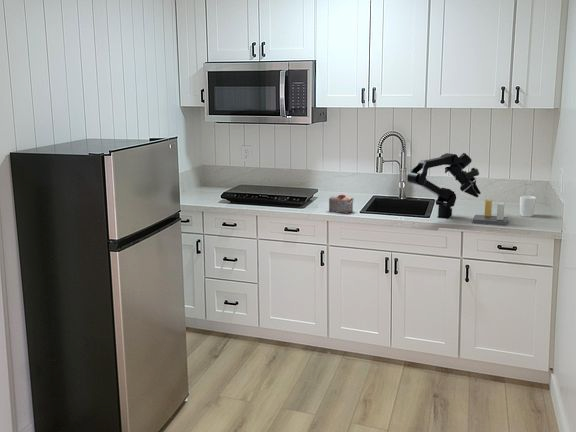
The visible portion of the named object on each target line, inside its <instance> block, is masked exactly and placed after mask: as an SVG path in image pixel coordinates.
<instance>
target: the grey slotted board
mask: <svg viewBox="0 0 576 432" xmlns="http://www.w3.org/2000/svg"><path fill="white" fill-rule="evenodd" d="M508 219H509V218H508V216H504V219H503V220H497V215H491V217H488V216H485V214H475V215H474V216H473V217H472V221H471V224H480V225H489V226H490V225H494V226H504V227H505V226H506V225H507V223H508Z"/></svg>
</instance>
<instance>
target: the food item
mask: <svg viewBox="0 0 576 432" xmlns="http://www.w3.org/2000/svg"><path fill="white" fill-rule="evenodd" d="M328 203H329V205H328V211H329V212H330V211H338V212H349V213H351V212H350V211H352V212H353V211H354V206H353V205H354V198H353V197H347V196H346V194H339V195H338V196H337V195H336V196H335V195H332V196H330V197H329V199H328ZM338 212H337V213H338Z"/></svg>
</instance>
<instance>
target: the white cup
mask: <svg viewBox="0 0 576 432" xmlns="http://www.w3.org/2000/svg"><path fill="white" fill-rule="evenodd" d="M536 200H537V197H536V196H532V195H521V196H520V197H519V216H521V217H527V218H528V217H529V218H531V217H534V214H535V208H536Z"/></svg>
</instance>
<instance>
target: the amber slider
mask: <svg viewBox="0 0 576 432" xmlns="http://www.w3.org/2000/svg"><path fill="white" fill-rule="evenodd" d="M484 202H485V203H484V215H485V216H488V217H491V216H492V211H493V209H492V208H493V200H492V199H485V201H484Z"/></svg>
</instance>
